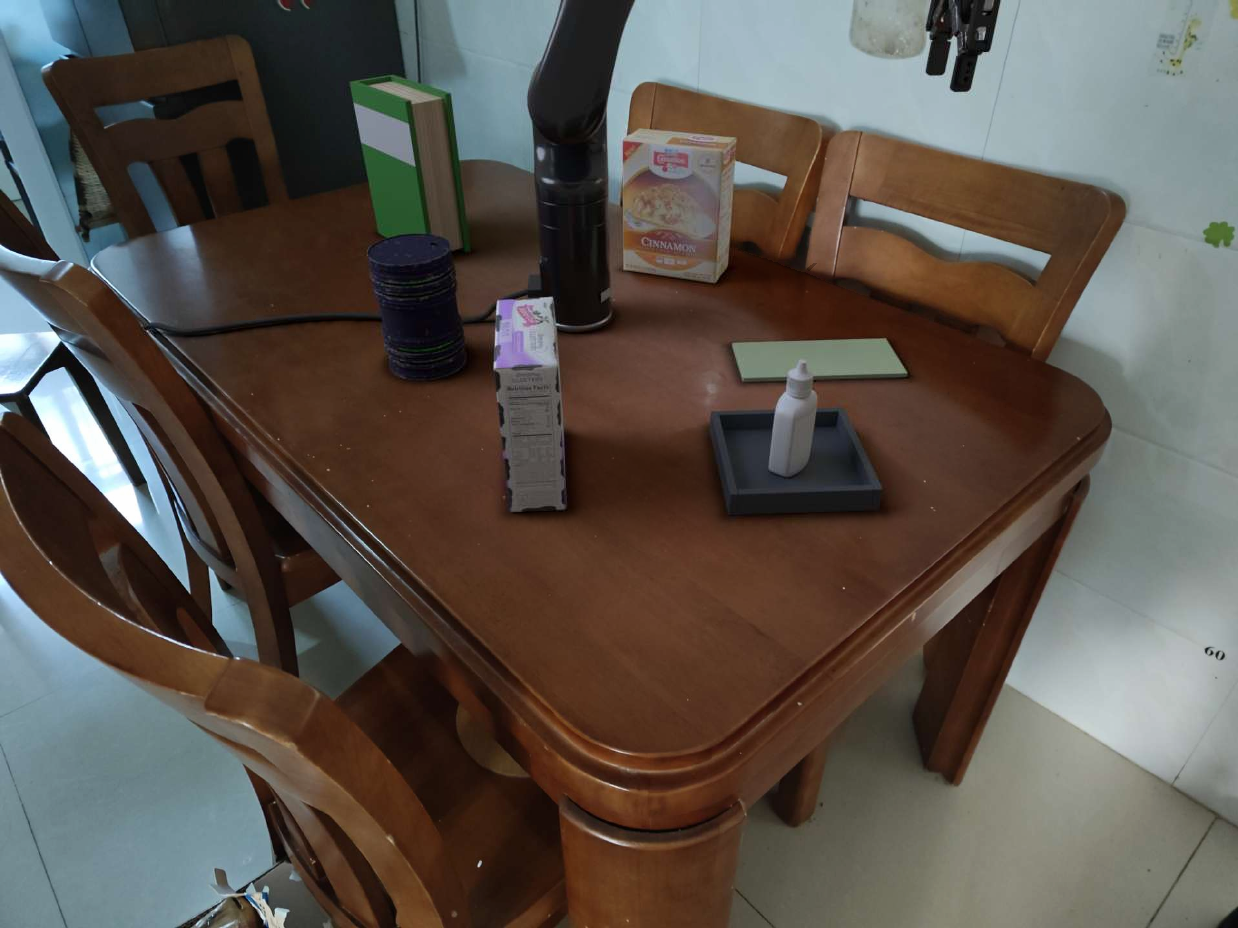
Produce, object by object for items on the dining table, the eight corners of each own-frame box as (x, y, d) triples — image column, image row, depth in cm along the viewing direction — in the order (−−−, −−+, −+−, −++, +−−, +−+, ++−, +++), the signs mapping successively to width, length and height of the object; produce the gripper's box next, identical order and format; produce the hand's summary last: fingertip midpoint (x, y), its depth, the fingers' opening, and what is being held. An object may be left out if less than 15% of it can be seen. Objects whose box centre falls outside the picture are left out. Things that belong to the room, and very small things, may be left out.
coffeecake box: (622, 270, 127) (620, 139, 115) (638, 254, 132) (638, 126, 121) (715, 285, 122) (723, 149, 111) (728, 266, 128) (737, 135, 116)
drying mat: (742, 382, 100) (743, 378, 99) (731, 346, 107) (732, 342, 107) (906, 377, 100) (907, 373, 100) (884, 342, 107) (885, 338, 107)
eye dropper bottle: (824, 467, 85) (841, 364, 77) (778, 482, 83) (791, 378, 76) (798, 445, 88) (813, 345, 81) (754, 459, 86) (764, 357, 79)
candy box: (511, 434, 91) (495, 297, 81) (564, 431, 92) (555, 294, 82) (508, 514, 80) (490, 366, 70) (568, 510, 80) (559, 362, 71)
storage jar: (400, 388, 100) (377, 272, 91) (379, 353, 107) (356, 242, 98) (478, 368, 103) (463, 254, 94) (453, 336, 110) (437, 227, 101)
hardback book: (470, 251, 134) (450, 93, 120) (430, 263, 130) (405, 101, 116) (416, 222, 145) (392, 74, 131) (378, 233, 141) (349, 82, 127)
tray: (728, 515, 80) (730, 494, 78) (709, 430, 91) (710, 411, 90) (878, 510, 80) (883, 489, 78) (840, 426, 92) (843, 406, 90)
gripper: (924, -84, 94) (897, 71, 103) (970, -76, 82) (935, 98, 92) (989, -85, 94) (956, 70, 103) (1045, -77, 82) (1002, 96, 92)
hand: (946, 83), depth 98 cm, fingers open, 8 cm apart
